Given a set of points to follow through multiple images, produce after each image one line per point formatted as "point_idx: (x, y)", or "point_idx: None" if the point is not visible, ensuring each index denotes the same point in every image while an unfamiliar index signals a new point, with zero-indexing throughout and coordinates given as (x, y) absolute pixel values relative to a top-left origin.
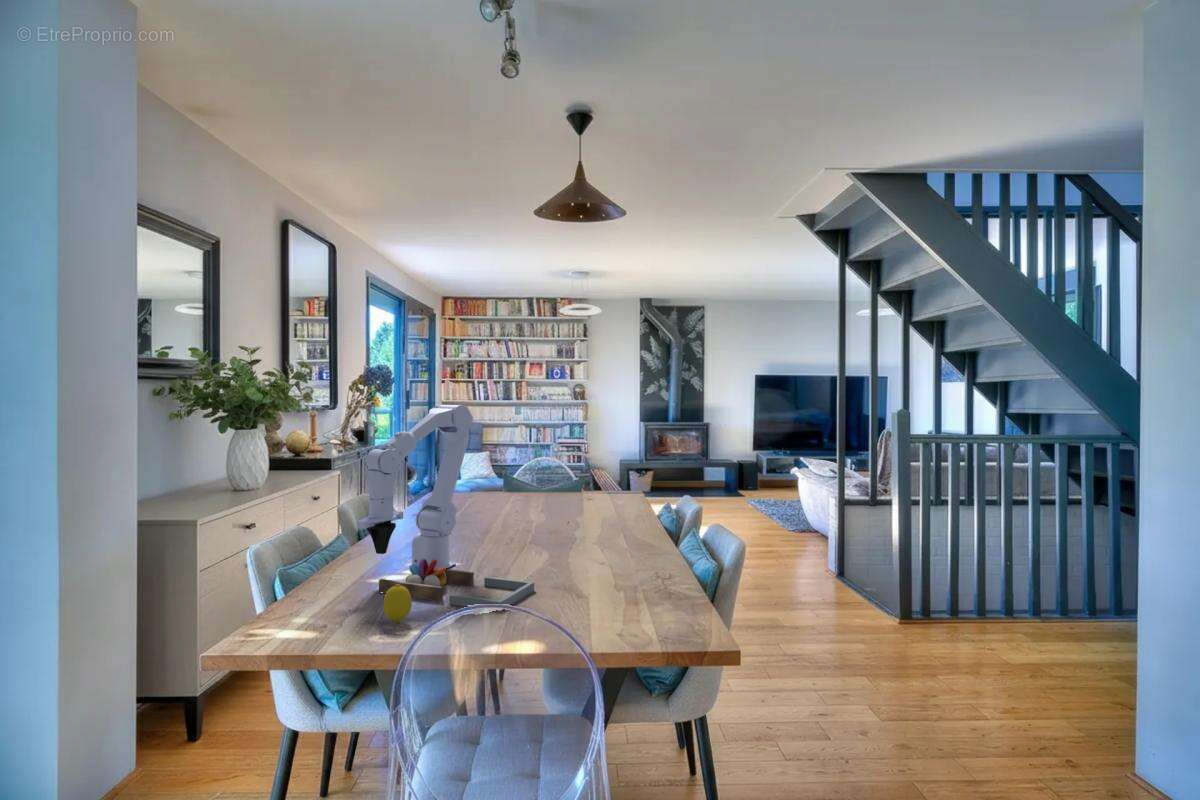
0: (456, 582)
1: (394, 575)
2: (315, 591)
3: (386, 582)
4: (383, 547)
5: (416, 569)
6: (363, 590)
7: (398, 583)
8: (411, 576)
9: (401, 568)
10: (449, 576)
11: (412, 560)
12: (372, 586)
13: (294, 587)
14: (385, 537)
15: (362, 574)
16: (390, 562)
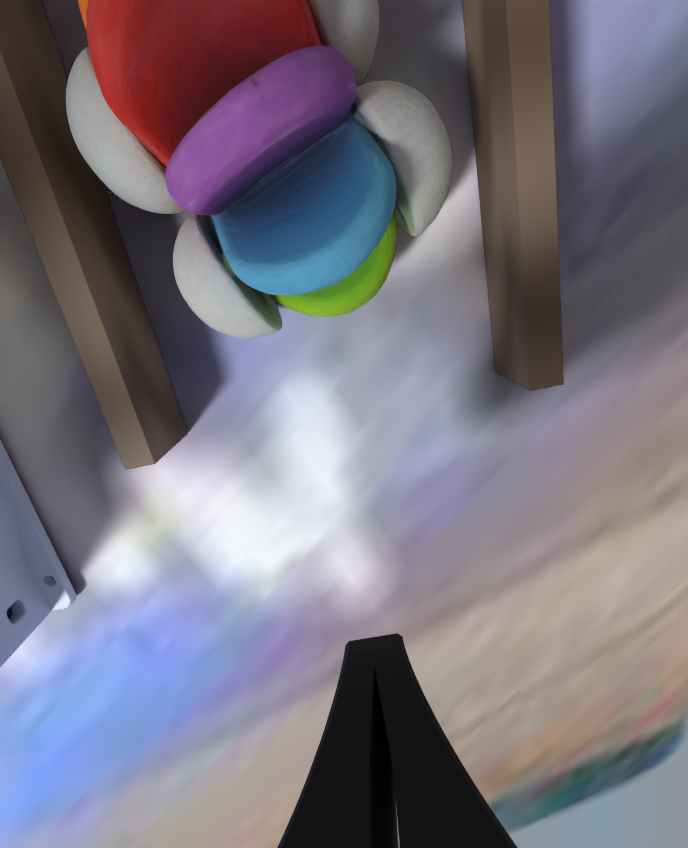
0: (45, 30)
1: (222, 563)
2: (637, 645)
3: (553, 311)
4: (415, 684)
5: (326, 192)
6: (522, 479)
7: (553, 180)
8: (424, 158)
9: (110, 633)
10: (44, 92)
11: (27, 631)
12: (441, 498)
13: (624, 750)
14: (427, 824)
15: (315, 693)
16: (86, 746)
